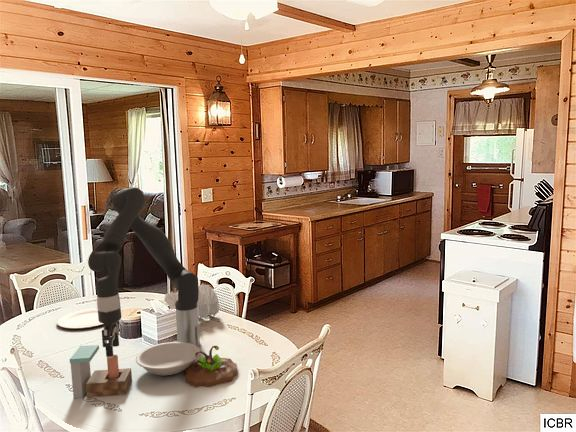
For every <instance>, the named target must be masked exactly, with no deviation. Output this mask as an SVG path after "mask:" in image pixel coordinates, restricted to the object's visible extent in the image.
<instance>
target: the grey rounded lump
mask: <svg viewBox="0 0 576 432" xmlns="http://www.w3.org/2000/svg"><path fill="white" fill-rule="evenodd" d="M176 290H177V289H176ZM177 300H178V290H177V291H176V292H174V291H170V292H169V293H165V296H164V302H165V303H166V304H167V305H168V307H169V308H170V310H171V309H176V307H175V303H176V301H177ZM219 303H220V302H219V298H218V295H217V294H216V291H215V289H213V287H211V285H209V284H205V283H203V282H202V283H201V284H200V285H199V299H198V302H197V310H198V319H202V318H204V320H205V319H207V318H208V316H213V317H215V316H216V315H217V314H219V311H220V307H221V306H220V304H219Z"/></svg>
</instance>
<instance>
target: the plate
mask: <svg viewBox="0 0 576 432" xmlns="http://www.w3.org/2000/svg"><path fill="white" fill-rule="evenodd" d="M56 324H57V326H58V327H61V328H64V329H71V330H74V329H75V330H76V329H77V330H80V329H81V330H82V329H89V328H94V327H99V326H103V325H105V324H104V323H100V322H99V319H98V309H97V308H95V307H94V308H87V309H81V310H77V311H72V312H70V313H67V314H66V315H63V316H61V317H60V318H59V319H58V320H57V322H56Z"/></svg>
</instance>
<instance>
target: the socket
mask: <svg viewBox="0 0 576 432" xmlns="http://www.w3.org/2000/svg"><path fill="white" fill-rule="evenodd" d="M132 383H133V375H132V368H131V367H130V368H127V367H126V368H119V378H116V379H108V369H99V370H94V371H93V372H92V373H91V377H90V378H89V380H88V382H87V383H86V390H87V392H86V397H87V398H97V397H98V398H99V397H100V398H101V397H109V396H110V397H113V396H124V395H125V396H126V395H127V394H128V391H129V388H130V386H131V385H132Z"/></svg>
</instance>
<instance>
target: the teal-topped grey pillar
mask: <svg viewBox="0 0 576 432" xmlns="http://www.w3.org/2000/svg"><path fill="white" fill-rule="evenodd" d="M99 350H100V345H99V344H94V345H93V344H92V345H80V346H79V347H78V348H77V349H76V351H75V352H74V353H73V355H72V356H71V357H69V364H70V370H71V371H70V373H71V383H72V385H71V386H72V395H73V399H82V398H84V396H85V394H87V390H86V383H87V382H88V380H89V378H90V377H91V375H92V372H91V361H92V360H93V359H94V357H95V356H96V354H97V353H98V352H99Z"/></svg>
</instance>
